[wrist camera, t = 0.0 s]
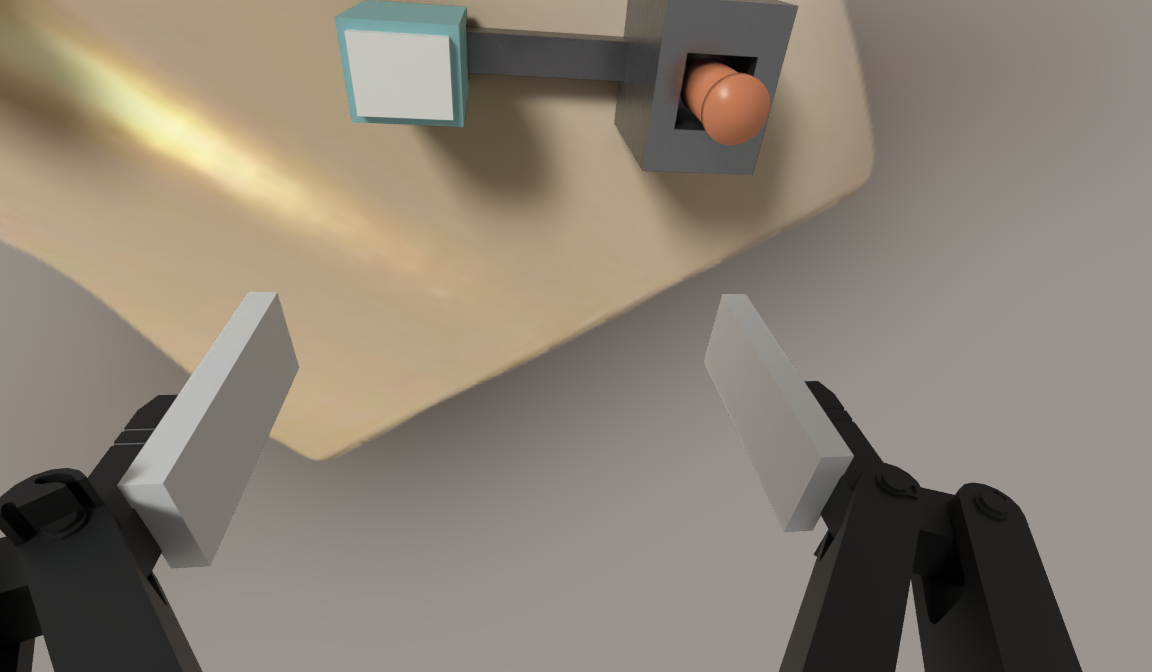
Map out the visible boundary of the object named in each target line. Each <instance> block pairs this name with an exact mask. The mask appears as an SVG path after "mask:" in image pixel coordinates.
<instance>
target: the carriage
mask: <svg viewBox="0 0 1152 672" xmlns="http://www.w3.org/2000/svg"><path fill="white" fill-rule="evenodd" d="M466 21H467V7H461V6H446V5H432V4H418V3H404V2H390V1H376V0H367V1H366V2H365V1H362V2H360V3H359V4H357V5H355V6H353V7H352V8H350V9H348V10H346V11H345V12H343V13H341V14H339V15H338V16H336V17H335V23H336V29H337V35H338V41H339V48H340V54H341V60H342V66H343V72H344V78H345V84H346V90H347V97H348V103H349V109H350V115H351V121H352V122H360V123H384V124H408V125H432V126H455V127H464V121H465V115H466V109H467V103H468V97H469V89H470V81H469V77H468V65H467V40H466Z"/></svg>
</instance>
